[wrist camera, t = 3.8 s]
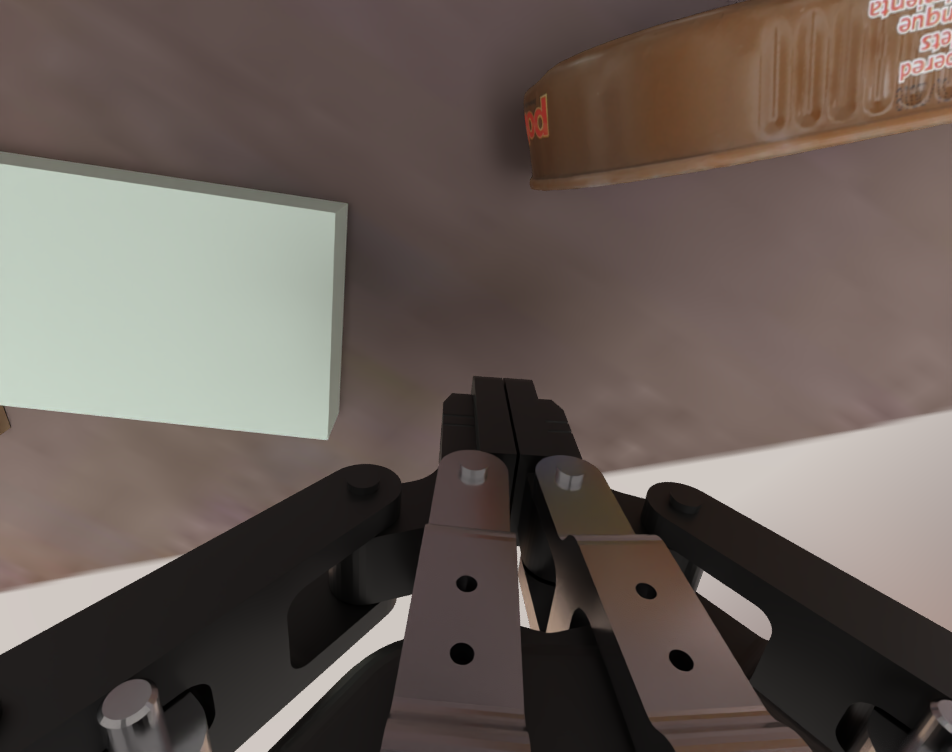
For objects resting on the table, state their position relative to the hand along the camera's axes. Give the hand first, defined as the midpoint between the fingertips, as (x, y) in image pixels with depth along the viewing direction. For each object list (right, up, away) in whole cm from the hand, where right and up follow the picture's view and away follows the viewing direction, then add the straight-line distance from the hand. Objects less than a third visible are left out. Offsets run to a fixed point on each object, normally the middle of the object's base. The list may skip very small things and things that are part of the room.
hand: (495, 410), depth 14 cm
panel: (-13, +4, +5) cm, 14 cm away
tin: (+8, +10, +3) cm, 13 cm away
